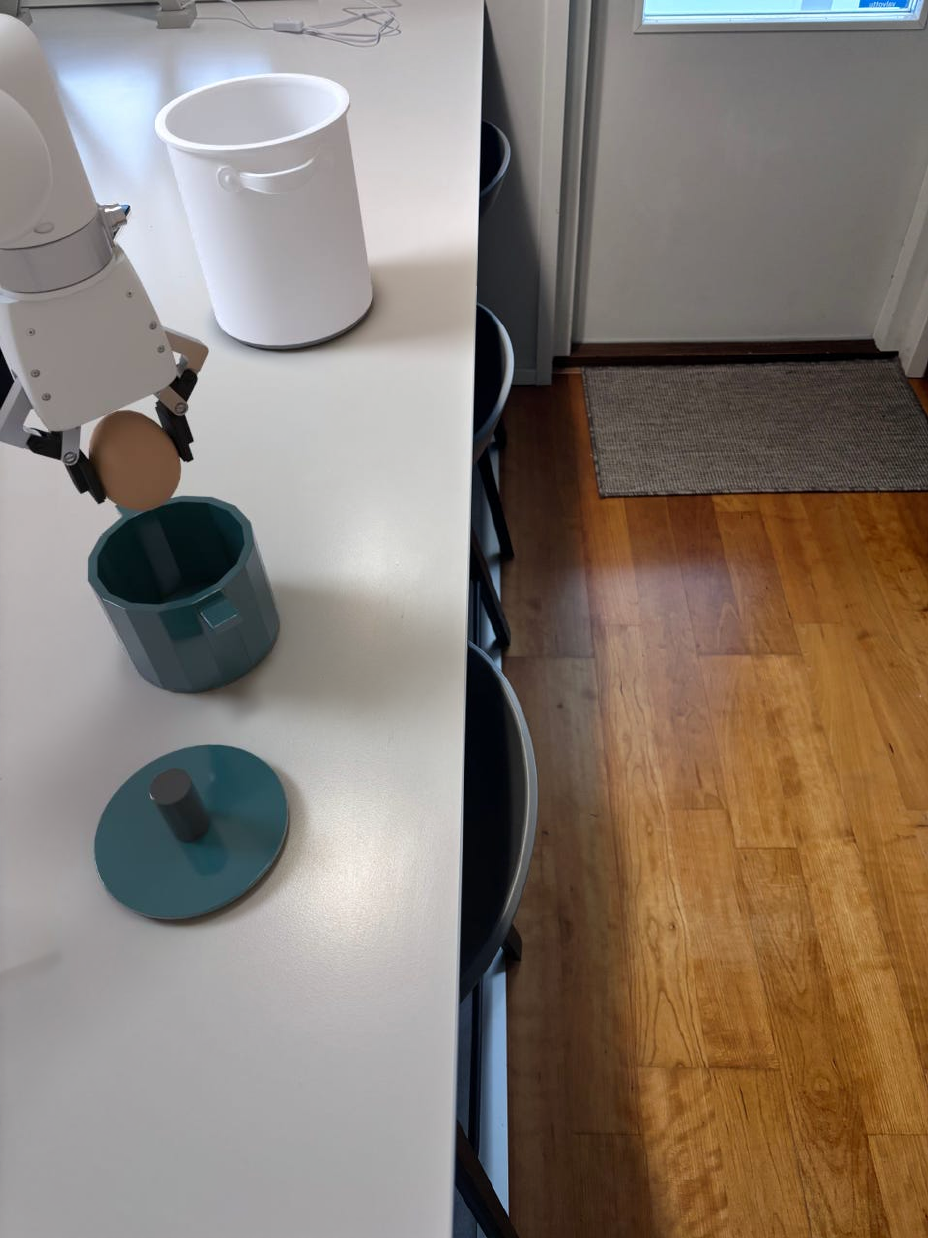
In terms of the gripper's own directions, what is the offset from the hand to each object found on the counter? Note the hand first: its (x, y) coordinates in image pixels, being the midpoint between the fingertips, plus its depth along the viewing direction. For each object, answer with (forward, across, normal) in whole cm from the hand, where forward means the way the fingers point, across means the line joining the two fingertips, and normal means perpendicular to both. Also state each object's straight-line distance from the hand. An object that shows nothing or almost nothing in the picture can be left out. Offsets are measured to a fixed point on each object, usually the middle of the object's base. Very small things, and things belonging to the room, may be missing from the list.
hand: (138, 471), depth 72 cm
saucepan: (+19, 0, 0) cm, 19 cm away
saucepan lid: (+18, +10, +18) cm, 27 cm away
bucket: (+19, -35, -43) cm, 59 cm away
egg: (+3, 0, 0) cm, 3 cm away
